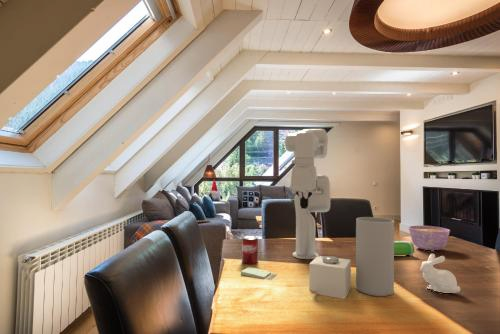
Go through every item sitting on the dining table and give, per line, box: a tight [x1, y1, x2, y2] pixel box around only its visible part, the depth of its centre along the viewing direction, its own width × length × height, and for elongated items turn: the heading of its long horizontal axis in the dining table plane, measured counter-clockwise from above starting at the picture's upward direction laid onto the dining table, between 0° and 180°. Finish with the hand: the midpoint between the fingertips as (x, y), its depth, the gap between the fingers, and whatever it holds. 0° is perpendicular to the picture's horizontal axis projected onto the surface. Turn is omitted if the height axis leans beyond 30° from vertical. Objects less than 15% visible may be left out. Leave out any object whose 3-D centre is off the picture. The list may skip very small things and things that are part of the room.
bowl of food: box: [408, 225, 451, 251], centre depth 177 cm, size 20×20×12 cm
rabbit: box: [419, 253, 461, 295], centre depth 115 cm, size 12×9×12 cm
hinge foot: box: [266, 273, 278, 281], centre depth 125 cm, size 7×2×1 cm, turn 154°
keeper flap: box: [240, 266, 272, 280], centre depth 128 cm, size 7×1×10 cm
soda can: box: [241, 235, 259, 266], centre depth 144 cm, size 7×7×12 cm
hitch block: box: [308, 255, 352, 300], centre depth 114 cm, size 12×12×10 cm
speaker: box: [394, 240, 415, 256], centre depth 163 cm, size 18×7×8 cm, turn 97°
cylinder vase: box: [355, 216, 395, 297], centre depth 114 cm, size 12×12×25 cm
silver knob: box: [322, 255, 340, 264], centre depth 114 cm, size 6×6×10 cm
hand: (304, 208), depth 130 cm, fingers closed
